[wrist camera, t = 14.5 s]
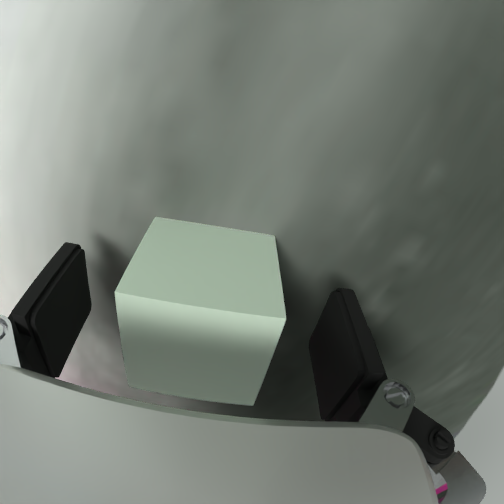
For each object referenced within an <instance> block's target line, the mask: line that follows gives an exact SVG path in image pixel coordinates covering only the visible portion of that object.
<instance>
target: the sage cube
mask: <svg viewBox="0 0 504 504" xmlns="http://www.w3.org/2000/svg"><path fill="white" fill-rule="evenodd" d="M115 300H116V309H117V318H118V325H119V333H120V340H121V346H122V353H123V359H124V365H125V370H126V376H127V381H128V386H129V387H132V388H136V389H141V390H146V391H151V392H156V393H161V394H167V395H172V396H178V397H185V398H191V399H198V400H205V401H213V402H221V403H230V404H239V405H250V406H253V405H254V402H255V400H256V397H257V395H258V392H259V390H260V387H261V385H262V382H263V380H264V377H265V375H266V372H267V369H268V367H269V364H270V362H271V359H272V356H273V354H274V351H275V348H276V346H277V343H278V340H279V338H280V335H281V332H282V329H283V327H284V324H285V321H286V312H285V305H284V297H283V290H282V283H281V276H280V269H279V262H278V255H277V248H276V241H275V236H273V235H267V234H261V233H255V232H249V231H243V230H237V229H231V228H225V227H218V226H212V225H206V224H199V223H193V222H186V221H180V220H173V219H167V218H160V217H155V218H154V220H153V222H152V223H151V225H150V227H149V229H148V230H147V232H146V234H145V236H144V237H143V239H142V241H141V243H140V245H139V246H138V248H137V250H136V252H135V254H134V256H133V257H132V259H131V261H130V263H129V265H128V267H127V269H126V271H125V272H124V274H123V276H122V278H121V280H120V282H119V284H118V286H117V288H116V290H115Z"/></svg>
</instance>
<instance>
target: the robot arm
mask: <svg viewBox="0 0 504 504" xmlns="http://www.w3.org/2000/svg"><path fill="white" fill-rule="evenodd" d="M90 311H91V298H90V291H89V284H88V277H87V269H86V260H85V252H84V250H83V249H81V247H80V245H78V244H73V243H68V242H66V243H64V244H63V246H62V247H61V248H60V249H59V250H58V252H57V253H56V254H55V255H54V256H53V258H52V259H51V260H50V261H49V263H48V264H47V265H46V266H45V268H44V269H43V270H42V271H41V273H40V274H39V275H38V276H37V278H36V279H35V280H34V282H33V283H32V284H31V286H30V287H29V288H28V290H27V291H26V292H25V294H24V295H23V296H22V298H21V299H20V301H19V302H18V303H17V305H16V306H15V308H14V309H13V310H12V312H11V314H10V315H9V317H8V318H7V317H5V316H3V315H0V504H479V503H480V502H481V501H482V499H483V498H484V496H485V494H486V485H485V482H484V480H483V478H482V477H481V476H480V475H479V474H478V473H477V471H476V470H475V469H474V468H473V467H472V466H471V464H470V463H469V462H468V461H467V460H466V459H465V457H464V456H463V455H462V454H461V453H460V452H459V451H457V452H455V451H454V447H455V444H454V439H453V436H452V435H451V433H450V432H449V431H448V430H447V429H446V428H444V427H443V426H441V425H440V424H439V423H437V422H436V421H434V420H433V419H431V418H430V417H428V416H427V415H426V414H424V413H423V412H421V411H420V410H418V409H417V408H416V407H414V403H415V397H414V394H413V391H412V390H411V388H410V387H409V386H408V385H407V384H406V383H404V382H403V381H401V380H398V379H387V376H386V373H385V370H384V367H383V364H382V362H381V359H380V356H379V353H378V350H377V348H376V345H375V342H374V340H373V337H372V334H371V332H370V329H369V327H368V326H367V323H366V321H365V318H364V316H363V313H362V310H361V308H360V305H359V303H358V300H357V298H356V295H355V293H354V291H353V290H351V289H344V288H338V289H337V290H336V291H332V293H331V295H330V297H329V299H328V301H327V304H326V306H325V308H324V310H323V313H322V315H321V317H320V319H319V321H318V323H317V326H316V328H315V330H314V332H313V334H312V336H311V338H310V342H309V350H310V356H311V362H312V367H313V373H314V379H315V385H316V391H317V397H318V403H319V409H320V415H321V418H322V419H323V420H325V421H296V420H275V419H260V418H248V417H238V416H228V415H220V414H212V413H204V412H197V411H191V410H184V409H178V408H172V407H167V406H161V405H156V404H151V403H146V402H142V401H137V400H132V399H128V398H124V397H119V396H115V395H111V394H107V393H103V392H100V391H96V390H92V389H89V388H85V387H82V386H78V385H75V384H72V383H68V382H65V381H61V380H58V379H55V377H59V376H60V374H61V372H62V369H63V367H64V365H65V363H66V360H67V358H68V356H69V354H70V352H71V350H72V348H73V345H74V343H75V341H76V339H77V337H78V335H79V333H80V331H81V329H82V327H83V325H84V323H85V321H86V319H87V317H88V315H89V313H90Z"/></svg>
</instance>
